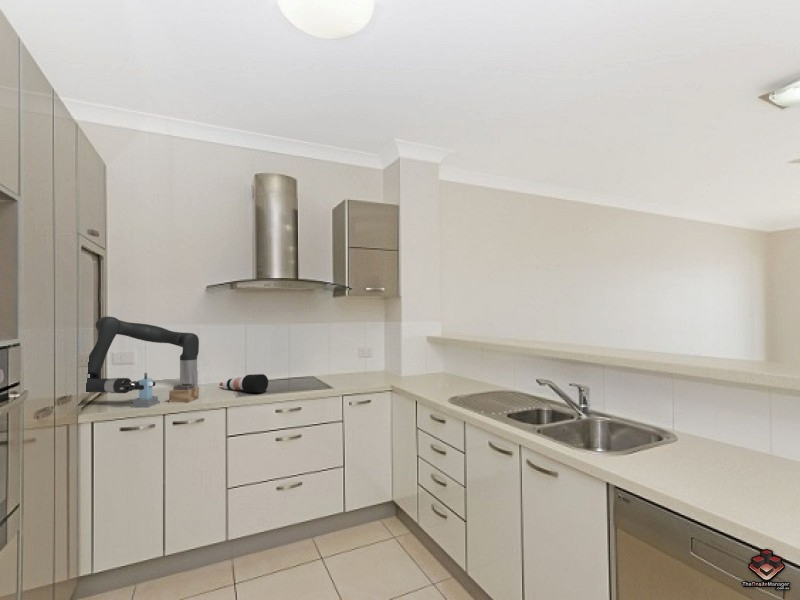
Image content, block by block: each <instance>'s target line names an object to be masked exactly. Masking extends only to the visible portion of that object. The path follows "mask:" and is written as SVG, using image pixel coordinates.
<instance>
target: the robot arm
mask: <svg viewBox="0 0 800 600" xmlns="http://www.w3.org/2000/svg"><path fill="white" fill-rule="evenodd" d="M95 328H96V330H97V332H99V335H98V339H97V341H96V343H95V345H94V346H93V349H92V350H91V351H90V353H89V355H88V357H89V362H88V373H87V375H88V374H90V378H88V377H87V383H86V392H89V393H88V394H90V393H103V394H105V393H106V394H127V393H129V392H132V391H139V390H143V389H144V385H139V380H131V379H130V378H128V377H114V378H101V371H102V368H103V366H104V362H105V360H106V357H107V354H108V352H109V350H110V347H111V346H112V343H113V341H114V339H115V337H116V336H117V335H119V336H120V335H121V336H125V337H129V338H132V339H136V340H141V341H144V342H150V343H157V344H158V343H159V344H170V345H174V346H177V347H181V348H182V353H181V354H180V356H179V384H195V387H199V386H198V383H199V382H198V381H199V379H198V377H199V376H198V372H199V371H198V356H199V351H200V349H199V347H200V339H199V337H198V335H197V334H195V333H193V332H180V331H179V332H178V331H173V330H172V331H171V330H168V329H166V328H164V327H161V326H158V325H151V324H146V323H139V322H138V323H137V322H128V321H124V320H120V319H118V318H117V317H113V316H109V315H108V316H103V317H101V318H98V319H97V321H96V322H95ZM152 382H153V385H152V387H155V386H156V381H152Z"/></svg>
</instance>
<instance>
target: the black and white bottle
mask: <svg viewBox="0 0 800 600" xmlns="http://www.w3.org/2000/svg"><path fill="white" fill-rule="evenodd" d="M219 386H220V387H222V388H223V389H225V390H233V391H235V390H236V391H244V392H245V393H250V394H251V393H253V394H254V393H264V392H265V391H266V390H267V389H268V386H269V379H268V376H266V375H265V374H264V373H263V374H262V373H257V374H247V375H244V376H243V377H237V378H234V377H233V378H226V379H224V380H223V381H222V382H219Z"/></svg>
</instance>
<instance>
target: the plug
mask: <svg viewBox="0 0 800 600" xmlns="http://www.w3.org/2000/svg"><path fill="white" fill-rule="evenodd" d="M138 381H139V385H144V389H143V390H138V398H139V399H150V398H152V396H153V386H152V385H153V382H154V381H153V378H150V377H149V378H148V372H144V378H141V379H139V380H138Z"/></svg>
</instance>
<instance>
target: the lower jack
mask: <svg viewBox="0 0 800 600" xmlns="http://www.w3.org/2000/svg"><path fill="white" fill-rule="evenodd" d="M160 403H161V400H159V396H157V395H152V398H150V399H139V397H136V398H134V399H133V400H132V404H131V405H130V408H151V407H153V406H156V405H157V404H160ZM155 404H156V405H155ZM152 405H153V406H152ZM150 406H151V407H150Z"/></svg>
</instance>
